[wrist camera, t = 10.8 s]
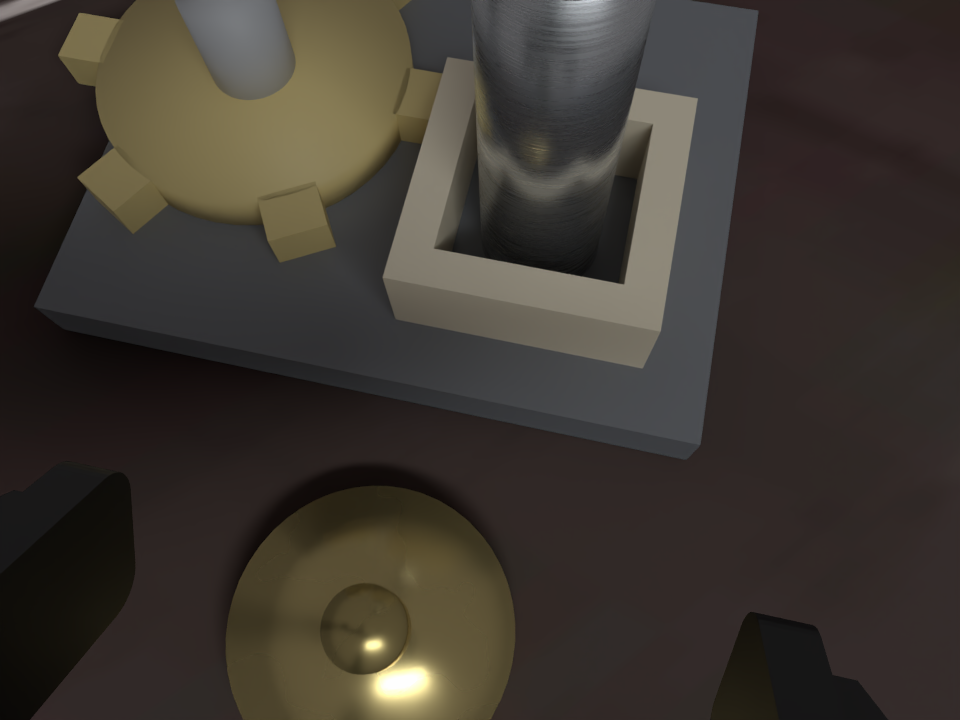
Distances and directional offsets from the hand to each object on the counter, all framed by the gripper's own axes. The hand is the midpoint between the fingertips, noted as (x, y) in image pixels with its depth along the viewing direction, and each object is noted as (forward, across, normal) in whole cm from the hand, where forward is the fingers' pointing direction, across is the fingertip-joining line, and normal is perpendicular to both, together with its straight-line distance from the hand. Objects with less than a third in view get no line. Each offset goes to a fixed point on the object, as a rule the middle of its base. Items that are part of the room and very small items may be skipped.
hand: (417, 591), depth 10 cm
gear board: (+16, +4, -1) cm, 17 cm away
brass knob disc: (+7, +2, +8) cm, 11 cm away
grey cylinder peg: (+14, 0, -1) cm, 14 cm away
